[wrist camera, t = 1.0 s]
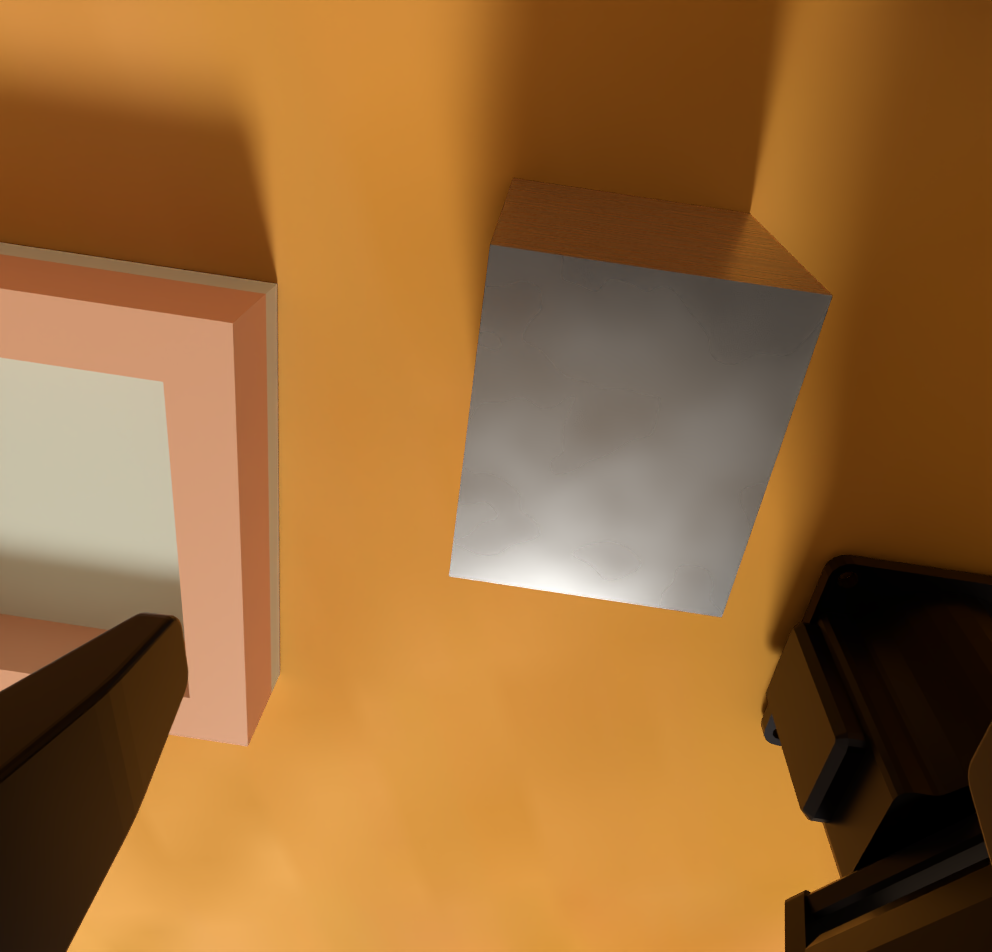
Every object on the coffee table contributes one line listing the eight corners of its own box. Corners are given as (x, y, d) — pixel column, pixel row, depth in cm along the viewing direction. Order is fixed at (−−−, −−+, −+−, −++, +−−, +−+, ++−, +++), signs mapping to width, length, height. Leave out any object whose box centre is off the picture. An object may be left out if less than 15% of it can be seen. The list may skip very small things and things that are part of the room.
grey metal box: (749, 212, 17) (832, 295, 12) (679, 461, 20) (721, 617, 14) (513, 177, 17) (490, 245, 12) (479, 431, 20) (449, 576, 15)
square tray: (276, 283, 18) (232, 323, 16) (279, 673, 24) (247, 746, 22) (-201, 212, 18) (-319, 240, 16) (-81, 619, 24) (-154, 685, 22)
